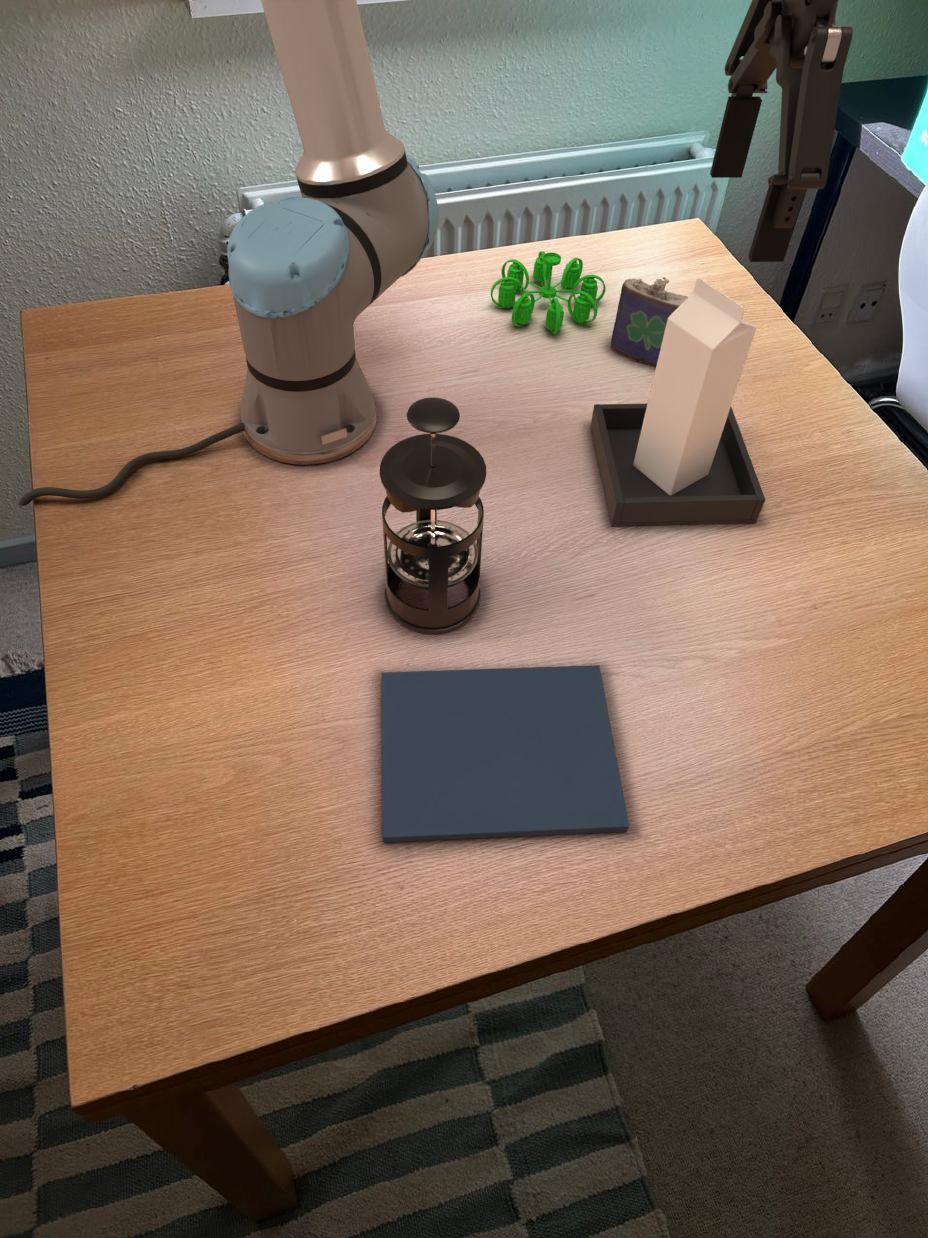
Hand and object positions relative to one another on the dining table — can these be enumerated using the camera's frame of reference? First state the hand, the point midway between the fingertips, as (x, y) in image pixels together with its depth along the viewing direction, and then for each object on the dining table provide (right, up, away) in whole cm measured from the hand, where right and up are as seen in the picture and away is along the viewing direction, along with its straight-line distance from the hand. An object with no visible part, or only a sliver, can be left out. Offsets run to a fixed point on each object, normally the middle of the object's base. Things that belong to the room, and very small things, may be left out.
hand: (744, 215), depth 78 cm
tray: (-1, -18, +24) cm, 30 cm away
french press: (-27, -32, +12) cm, 44 cm away
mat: (-21, -46, +2) cm, 50 cm away
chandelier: (-13, +7, +43) cm, 45 cm away
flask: (-1, -2, +37) cm, 37 cm away
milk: (-1, -18, +23) cm, 30 cm away
